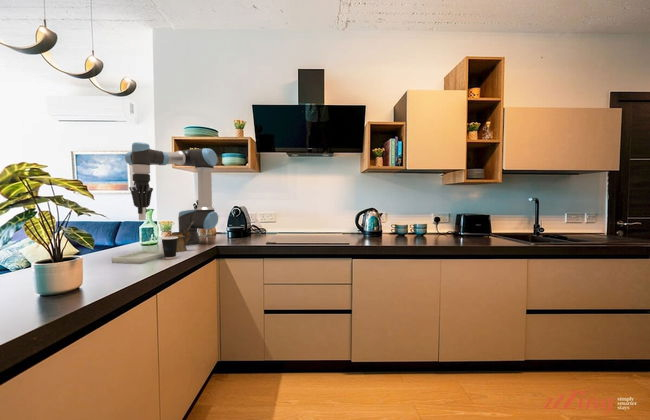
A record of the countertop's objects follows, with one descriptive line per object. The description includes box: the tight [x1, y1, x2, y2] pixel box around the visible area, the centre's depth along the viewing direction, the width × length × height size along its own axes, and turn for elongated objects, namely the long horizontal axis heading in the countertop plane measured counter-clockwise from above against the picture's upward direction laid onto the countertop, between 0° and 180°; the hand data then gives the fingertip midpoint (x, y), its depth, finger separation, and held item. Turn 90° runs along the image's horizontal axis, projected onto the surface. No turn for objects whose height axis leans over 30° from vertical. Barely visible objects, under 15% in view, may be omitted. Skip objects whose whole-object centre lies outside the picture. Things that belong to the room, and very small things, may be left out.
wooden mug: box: [170, 221, 194, 253], centre depth 165 cm, size 9×14×18 cm, turn 112°
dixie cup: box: [160, 236, 178, 260], centre depth 145 cm, size 8×8×11 cm
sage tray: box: [111, 249, 165, 265], centre depth 143 cm, size 20×16×2 cm
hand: (142, 220), depth 143 cm, fingers closed
